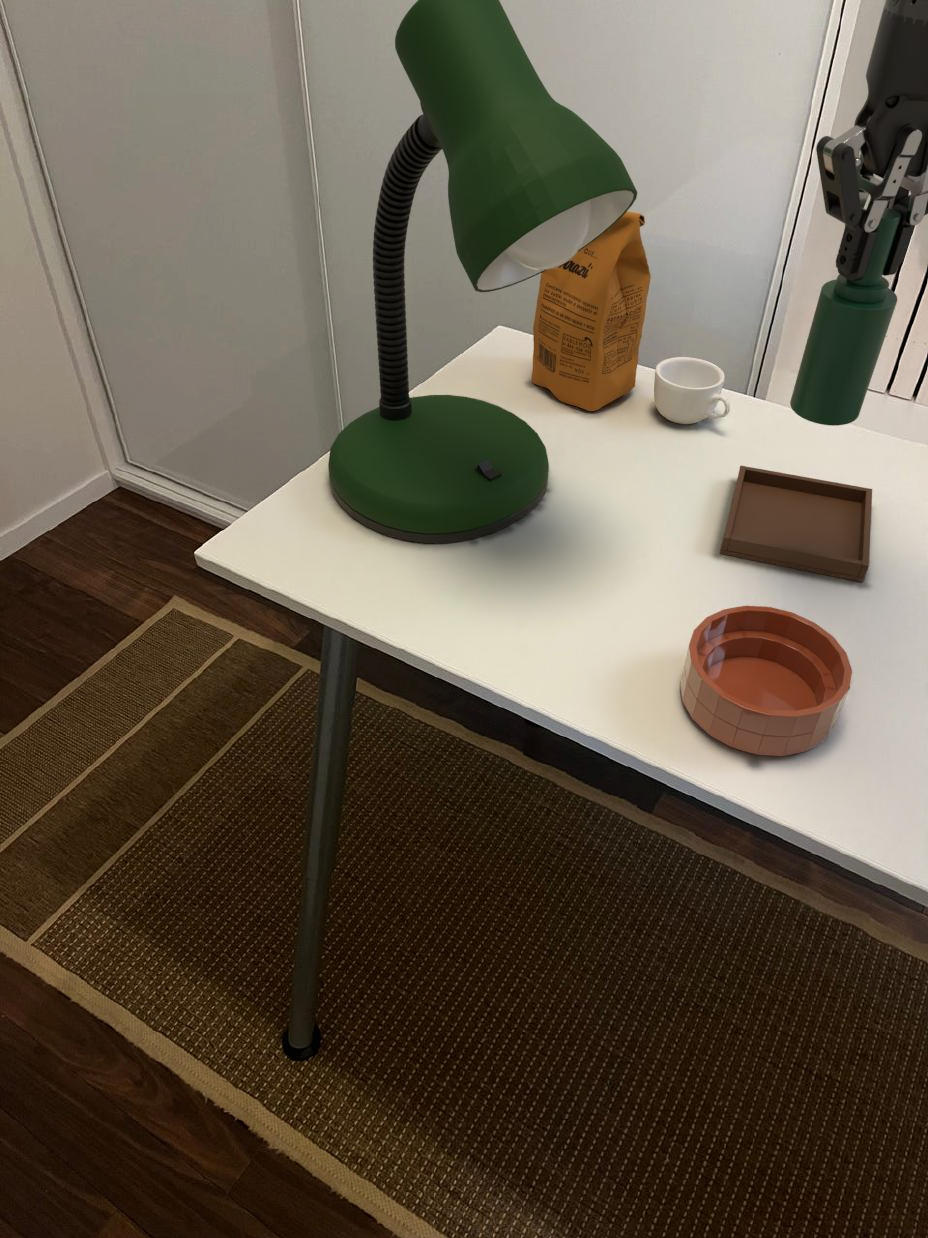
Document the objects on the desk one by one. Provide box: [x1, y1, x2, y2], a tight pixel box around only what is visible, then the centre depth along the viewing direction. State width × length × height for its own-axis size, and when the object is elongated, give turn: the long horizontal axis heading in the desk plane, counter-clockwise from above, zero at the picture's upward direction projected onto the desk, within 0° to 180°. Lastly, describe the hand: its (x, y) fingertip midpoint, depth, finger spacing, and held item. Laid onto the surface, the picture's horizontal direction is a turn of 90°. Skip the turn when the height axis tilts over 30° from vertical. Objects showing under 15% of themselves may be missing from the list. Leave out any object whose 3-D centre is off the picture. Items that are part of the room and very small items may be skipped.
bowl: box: [679, 605, 853, 757], centre depth 75 cm, size 12×12×5 cm
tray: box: [719, 465, 873, 583], centre depth 93 cm, size 13×13×2 cm
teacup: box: [653, 356, 731, 425], centre depth 108 cm, size 10×8×5 cm
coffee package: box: [531, 211, 652, 412], centre depth 108 cm, size 10×12×22 cm
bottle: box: [789, 207, 901, 427], centre depth 73 cm, size 6×6×16 cm
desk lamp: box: [327, 0, 638, 544], centre depth 83 cm, size 31×23×45 cm
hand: (866, 272), depth 71 cm, fingers closed on bottle, 2 cm apart
